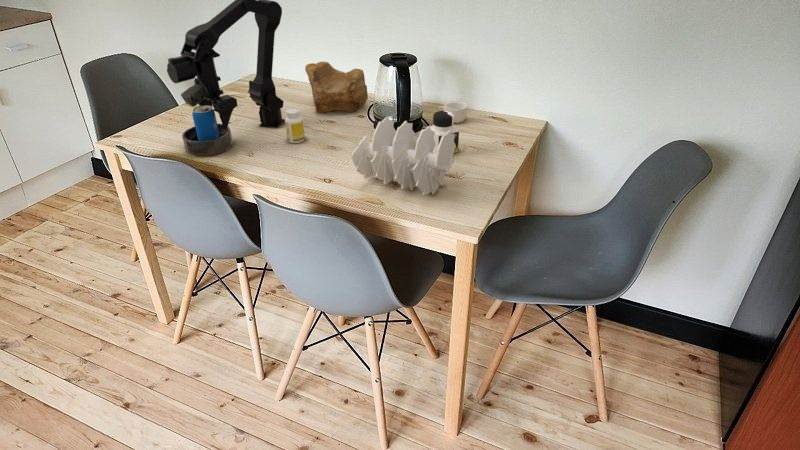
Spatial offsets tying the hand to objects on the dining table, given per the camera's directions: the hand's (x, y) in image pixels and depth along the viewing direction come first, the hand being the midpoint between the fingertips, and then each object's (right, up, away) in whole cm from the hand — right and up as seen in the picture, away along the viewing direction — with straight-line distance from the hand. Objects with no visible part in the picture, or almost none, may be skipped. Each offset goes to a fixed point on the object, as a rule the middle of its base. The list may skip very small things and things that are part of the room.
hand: (217, 123), depth 166 cm
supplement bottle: (+24, -4, +5) cm, 25 cm away
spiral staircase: (+59, -21, -21) cm, 66 cm away
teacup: (+75, +4, +16) cm, 77 cm away
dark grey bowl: (-3, -7, +1) cm, 8 cm away
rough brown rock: (+33, +10, +27) cm, 43 cm away
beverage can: (-2, -7, +1) cm, 7 cm away
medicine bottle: (+70, -9, -3) cm, 70 cm away
